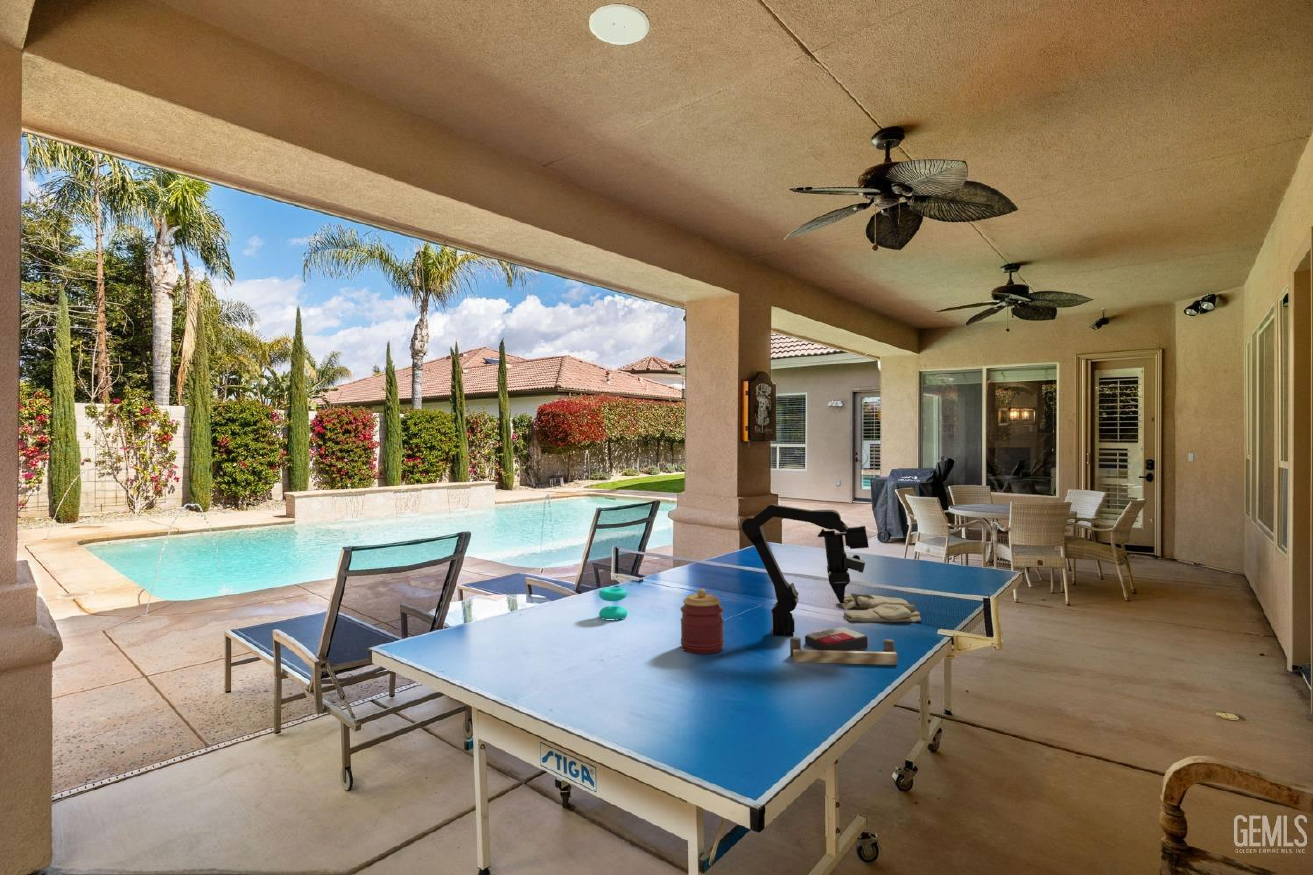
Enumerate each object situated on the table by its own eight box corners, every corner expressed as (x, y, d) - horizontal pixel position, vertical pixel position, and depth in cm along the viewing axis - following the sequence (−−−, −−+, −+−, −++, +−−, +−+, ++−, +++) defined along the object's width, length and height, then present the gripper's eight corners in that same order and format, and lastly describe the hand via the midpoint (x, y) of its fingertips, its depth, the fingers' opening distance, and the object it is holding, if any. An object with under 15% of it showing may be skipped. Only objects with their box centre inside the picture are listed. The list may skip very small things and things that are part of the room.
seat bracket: (791, 661, 184) (791, 644, 184) (789, 654, 190) (789, 636, 190) (899, 664, 180) (898, 646, 180) (893, 656, 187) (892, 639, 187)
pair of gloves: (835, 602, 253) (835, 588, 253) (904, 604, 249) (904, 590, 249) (847, 624, 223) (847, 608, 223) (926, 626, 219) (926, 610, 219)
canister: (732, 647, 197) (732, 588, 198) (705, 657, 188) (705, 596, 188) (699, 638, 206) (698, 582, 206) (671, 648, 197) (671, 589, 197)
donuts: (631, 590, 230) (604, 593, 226) (631, 619, 230) (604, 622, 226) (620, 585, 239) (594, 588, 235) (621, 612, 239) (595, 616, 235)
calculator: (804, 633, 200) (843, 624, 206) (804, 647, 200) (844, 638, 206) (826, 643, 190) (867, 634, 196) (827, 657, 190) (868, 648, 196)
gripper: (864, 552, 196) (870, 605, 195) (859, 543, 214) (865, 591, 213) (825, 555, 198) (832, 607, 197) (824, 546, 216) (830, 594, 216)
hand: (841, 599), depth 206 cm, fingers open, 9 cm apart
